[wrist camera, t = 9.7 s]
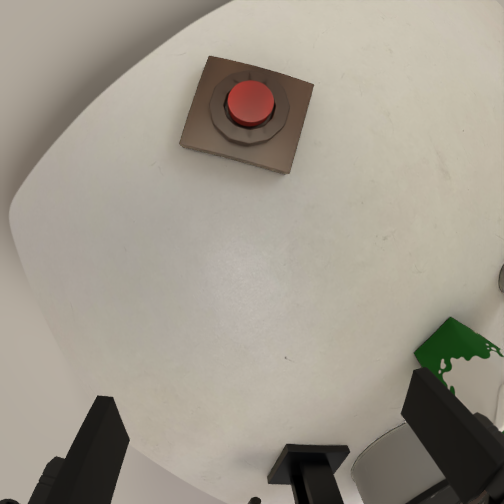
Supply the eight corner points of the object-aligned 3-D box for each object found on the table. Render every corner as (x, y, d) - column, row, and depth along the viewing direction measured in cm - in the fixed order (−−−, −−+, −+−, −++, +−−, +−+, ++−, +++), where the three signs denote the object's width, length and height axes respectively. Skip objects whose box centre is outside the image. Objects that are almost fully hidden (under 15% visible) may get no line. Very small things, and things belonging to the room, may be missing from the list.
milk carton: (405, 353, 34) (497, 452, 14) (453, 306, 33) (560, 377, 13) (425, 385, 35) (501, 471, 16) (468, 343, 35) (554, 411, 15)
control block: (182, 147, 27) (175, 141, 23) (210, 64, 25) (207, 47, 21) (284, 174, 28) (293, 172, 24) (308, 91, 26) (319, 78, 22)
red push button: (222, 120, 23) (221, 115, 21) (234, 82, 22) (235, 75, 21) (264, 131, 23) (267, 127, 22) (275, 93, 23) (279, 87, 21)
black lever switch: (267, 477, 37) (278, 547, 24) (286, 443, 35) (304, 522, 22) (323, 477, 38) (344, 540, 25) (347, 445, 37) (377, 513, 23)
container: (358, 436, 36) (394, 510, 22) (454, 402, 37) (501, 453, 23) (343, 494, 40) (365, 552, 26) (426, 465, 42) (456, 511, 27)
